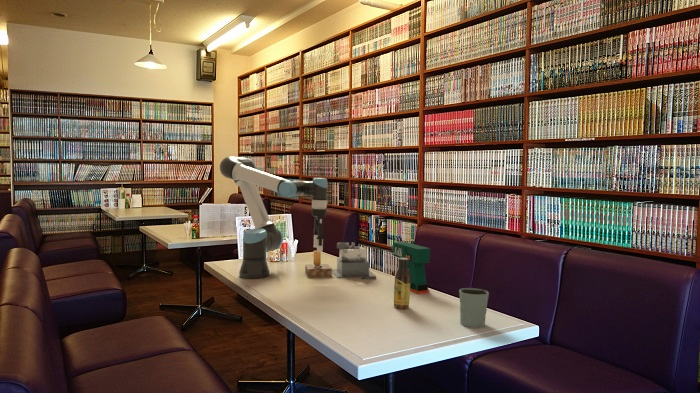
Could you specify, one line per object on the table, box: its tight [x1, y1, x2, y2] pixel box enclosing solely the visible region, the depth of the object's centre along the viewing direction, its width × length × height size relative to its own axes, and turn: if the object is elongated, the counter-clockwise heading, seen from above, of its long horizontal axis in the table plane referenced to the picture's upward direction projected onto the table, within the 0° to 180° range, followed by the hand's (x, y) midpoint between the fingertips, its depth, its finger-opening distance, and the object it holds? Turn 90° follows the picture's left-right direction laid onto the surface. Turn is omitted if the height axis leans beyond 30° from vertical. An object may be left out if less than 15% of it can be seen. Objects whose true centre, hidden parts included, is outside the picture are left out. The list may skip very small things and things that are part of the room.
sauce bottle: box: [393, 257, 411, 310], centre depth 192 cm, size 6×6×20 cm
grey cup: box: [458, 287, 490, 329], centre depth 172 cm, size 10×10×12 cm
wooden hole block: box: [304, 263, 333, 278], centre depth 246 cm, size 12×12×5 cm
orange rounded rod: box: [312, 249, 322, 267], centre depth 246 cm, size 4×4×12 cm
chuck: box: [336, 241, 367, 262], centre depth 250 cm, size 15×14×9 cm
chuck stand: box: [332, 257, 377, 280], centre depth 250 cm, size 20×20×8 cm
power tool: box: [389, 241, 431, 295], centre depth 229 cm, size 32×7×20 cm, turn 25°
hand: (317, 249), depth 246 cm, fingers open, 13 cm apart
